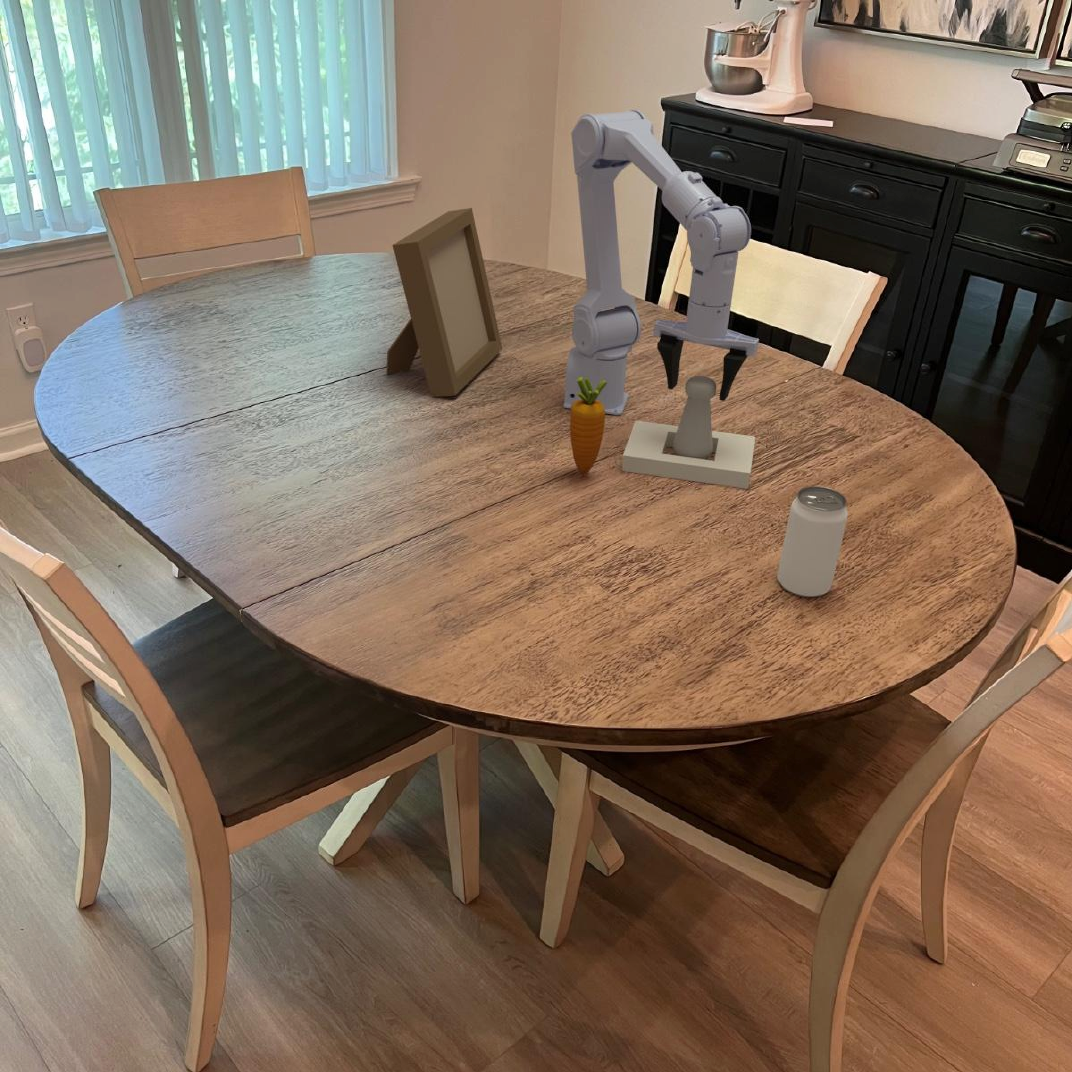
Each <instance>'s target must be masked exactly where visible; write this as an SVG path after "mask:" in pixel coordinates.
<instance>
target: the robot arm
mask: <svg viewBox="0 0 1072 1072" xmlns="http://www.w3.org/2000/svg"><path fill="white" fill-rule="evenodd" d="M570 134H571V145H572V154H573V155H572V156H573V164H574V165H573V167H574V174H575V175H576V181H577V190H578V203H579V212H580V223H581V225H580V226H581V237H582V246H583V257H584V268H585V269H584V270H585V278H586V289H587V290H586V292H585V294H583V296H582V297H580V299H579V300H578V301H577V302H576V303H575V305H574V306H573V323H572V329H571V337H572V341H573V343H574V345H575V346H574V347H573V346H572V347H571V348H570V350H569V352H568V356H567V360H566V369H565V370H566V371H565V382H564V383H565V385H564V386H565V387H564V402H563V408H565V409H569V410H571V405H572V403H574V402H575V401H577V400H579V399H581V398H580V397H579V396H578V395H577V393H578V392H581V390H580V388H579V385H578V383H577V379H578V378H580V377H583V379H586V378H589V380H590V382H591V385H592V388H593V392H594V390H596V388H597V386H598V385H599V383H600V382H601V381H602V380H604V381H606V382H607V384H606V385H605V386H604V388H603V389H602V391H601V392H600V394H599V395H598V397H597V398H596V400H597V401H600V402H602V403H603V405H604V409H605V414H607V415H608V414H610V415H615V416H621V415H623V413H624V410H625V407H626V404H627V402H628V400H629V397H630V394H629V393H626V392H625V388H626V387H625V386H626V377H627V375H626V374H627V366H628V365H627V363H628V354H629V353H632V350H633V346H634V345H635V344H636V343H638V341H639V340H640V337H641V334H642V322H641V319H640V316H639V313H638V311H637V306H636V305H637V303H636V299H635V297H633V296H632V294H630V293H629V292H627V291H626V290H625V289H624V288H623V286H622V284H623V283H622V273H621V258H620V247H619V237H618V236H619V234H618V223H617V222H618V221H617V211H616V198H615V188H614V187H615V186H614V183H615V180H616V179H617V177H618V176H619V174H620V173H621V172H622V170H625V169H626V168H627V167H629V166H630V165H631V164H633V165H634V166H635V167H636V168H637V169H638V170H640V171H641V172H642V174H644V175H645V176H646V177H647V178H648V179H649V180H650V181H651V182H653V184H655V185H656V186H657V188H659V189H660V190H661V191H662V194H661V202H662V205H663V206H664V208H666V209H667V211H668V212H669V213H670V214H671V215H672V216H673V218H674V219H675V220H676V221H677V222H678V223H679V224H680V225H681V226H682V227H683V229H685V231H686V239H687V240H686V241H687V244H688V247H689V251H690V258H689V262H690V265H691V267H692V270H691V271H692V273H691V280H690V288H689V295H688V296H689V297H688V304H687V312H686V319H685V321H679V320H667V319H666V320H665V319H661V318H660V319H658V320H656V321H655V322H654V324H653V331H652V332H653V333H652V336H653V337H657V338H659V341H657V344H656V348H657V350H658V352H659V355H660V357H661V360H662V362H663V365H664V369H665V370H664V371H665V374H666V379H667V389H668V390H674V388H675V387H676V386H677V385H678V383H679V375H680V363H681V362H680V361H681V357H682V351H683V346H684V342H689V343H693V344H699V345H703V346H709V347H714V348H718V349H721V350H722V349H723V350H727V351H728V352H727V353H726V354H725V355H724V356H723V361H722V362H723V371H722V381H721V387H720V390H719V401H721V402H724V401H726V400H727V399H728V397H729V394H730V392H731V391H730V390H731V388H732V385H733V383H734V381H735V379H736V376H737V375H738V372H739V371H740V369H741V367H742V366H743V364H744V362H745V361H746V359H748V357H752V358H753V357H754V356H755V355H756V354H757V353H758V348H759V341H760V339H759V338H756V337H752V336H749V335H745V334H743V333H740V332H737V331H734V330H731V329H728V326H729V321H730V320H729V319H730V312H731V307H732V300H733V293H734V292H733V291H734V286H735V279H736V272H737V266H738V258H739V252H741V251H743V250H744V249H745V248H746V247H747V246H748V245H749V243H750V240H751V235H752V226H751V222H750V218H749V217H748V215H747V213H745V210H744V209H743V207H740V206H738V205H733V206H730V205H728V203H724V202H723V200H722V199H721V198H720V197H719V196H717V195H716V194H715V193H714V192H713V190H711V189H710V187H708V186H707V184H706V183H705V182H704V181H703V176H702V175H701V174H700V173H699V172H693V171H692V170H691V171H690V170H685V171H681V169H680V168H679V166H678V165H677V164H676V162H675V161H674V160H673V159H672V157H671V156H670V155H669V154H668V152H667V151H666V150H665V149H664V147H663V146H662V145H661V143H660V142H659V141H658V139H657V138H656V137H655V136H654V123H653V122H652V121H651V120H649V119H648V118H647V116H646V115H645V114H644V113H643V112H642V111H641V110H638V109H631V110H628V111H620V112H618V111H616V112H608V113H607V112H606V113H597V114H596V113H585V114H583V115H581V116H580V117H579V119H578V121H577V122H576V123H575V125H574V128H573V129H572V131H571V133H570ZM584 381H585V380H584ZM585 384H586V383H585ZM586 387H587V385H586ZM587 391H588V388H587ZM581 393H582V392H581Z"/></svg>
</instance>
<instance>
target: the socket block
mask: <svg viewBox="0 0 1072 1072" xmlns="http://www.w3.org/2000/svg"><path fill="white" fill-rule="evenodd" d="M678 426H679V425H678ZM678 426H677V425H671V424H664V423H658V422H657V423H656V422H650V421H642V420H635V421H634V424H633V427H632V428H631V429H632V430H631V433H630V435H629V439H628V441H627V443H626V446H625V449H624V452H623V454H622V463H621V471H622V472H627V473H632V474H633V473H635V474H641V475H642V474H643V475H649V476H655V477H663V478H670V479H675V480H683V481H690V482H697V483H704V484H711V485H717V486H725V487H732V488H738V489H745V490H748V489H749V486H750V480H751V475H752V474H751V472H752V465H753V458H754V449H755V441H756V436H753V435H747V434H746V435H744V434H739V433H730V432H724V431H723V432H722V431H716V430H712V442H713V451H712V454H714V460H710V459H707V460H705V459H697V458H690V457H683V456H676V455H675V454H669V453H666V449H667V447H668V448H673V442H674V439H675V436H676V433H677V429H678Z"/></svg>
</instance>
